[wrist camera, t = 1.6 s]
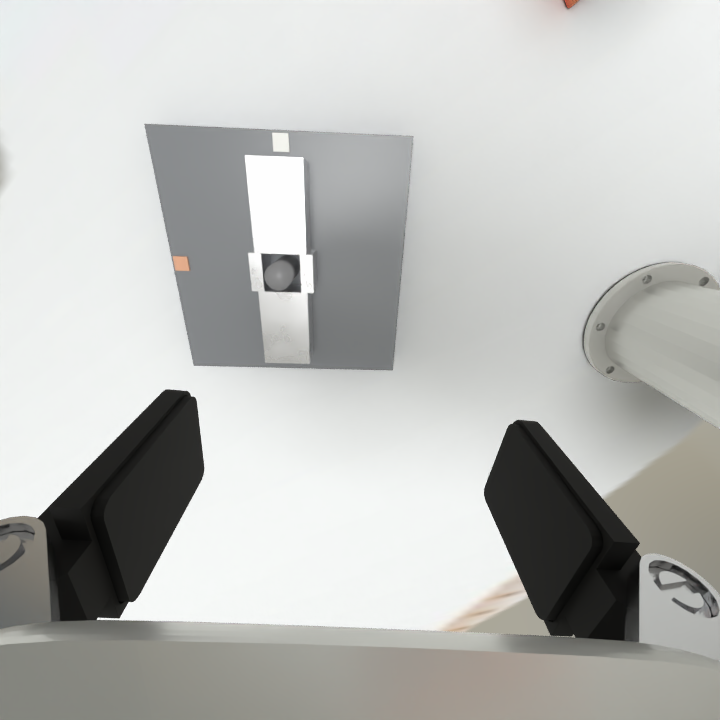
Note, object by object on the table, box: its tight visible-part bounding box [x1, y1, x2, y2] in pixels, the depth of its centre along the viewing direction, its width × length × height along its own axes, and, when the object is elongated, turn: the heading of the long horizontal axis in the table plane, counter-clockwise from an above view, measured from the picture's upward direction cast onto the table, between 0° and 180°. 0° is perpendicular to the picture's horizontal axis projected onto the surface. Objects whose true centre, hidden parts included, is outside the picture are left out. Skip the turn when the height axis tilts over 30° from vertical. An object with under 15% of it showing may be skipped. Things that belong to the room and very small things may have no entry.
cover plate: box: [145, 124, 413, 370], centre depth 28 cm, size 20×20×6 cm
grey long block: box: [245, 155, 317, 364], centre depth 28 cm, size 5×16×3 cm, turn 178°
